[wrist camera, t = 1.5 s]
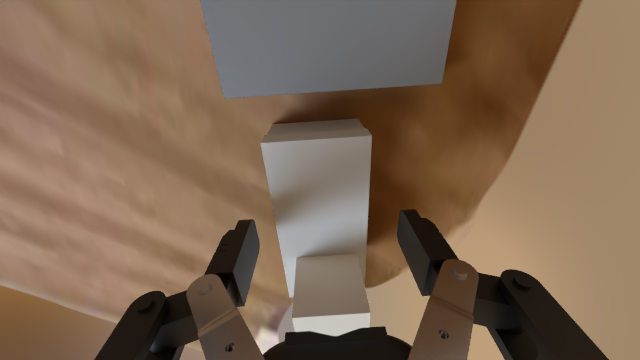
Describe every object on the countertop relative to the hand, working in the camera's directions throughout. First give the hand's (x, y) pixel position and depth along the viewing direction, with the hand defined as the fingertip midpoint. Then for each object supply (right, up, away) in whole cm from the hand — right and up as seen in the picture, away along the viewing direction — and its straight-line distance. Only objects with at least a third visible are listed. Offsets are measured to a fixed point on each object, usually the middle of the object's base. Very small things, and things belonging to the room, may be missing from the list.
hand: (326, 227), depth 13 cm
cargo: (0, -4, +3) cm, 5 cm away
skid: (0, +1, +5) cm, 5 cm away
